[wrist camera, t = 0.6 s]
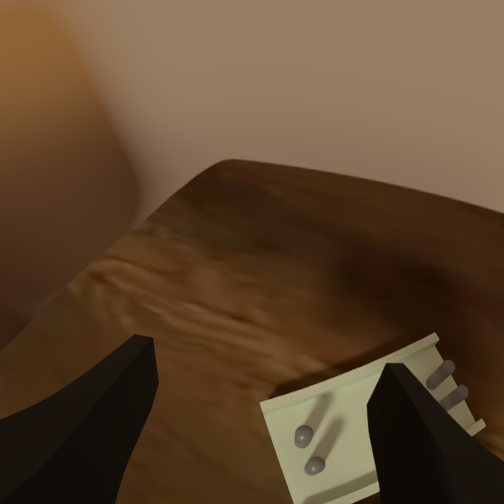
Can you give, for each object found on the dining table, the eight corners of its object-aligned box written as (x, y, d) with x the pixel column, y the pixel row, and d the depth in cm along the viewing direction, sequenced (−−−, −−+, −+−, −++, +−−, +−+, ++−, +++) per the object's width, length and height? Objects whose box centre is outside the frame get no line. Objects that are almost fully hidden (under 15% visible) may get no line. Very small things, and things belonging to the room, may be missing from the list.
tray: (473, 432, 19) (500, 418, 16) (299, 519, 17) (302, 525, 14) (426, 343, 26) (444, 318, 22) (261, 409, 24) (256, 393, 21)
